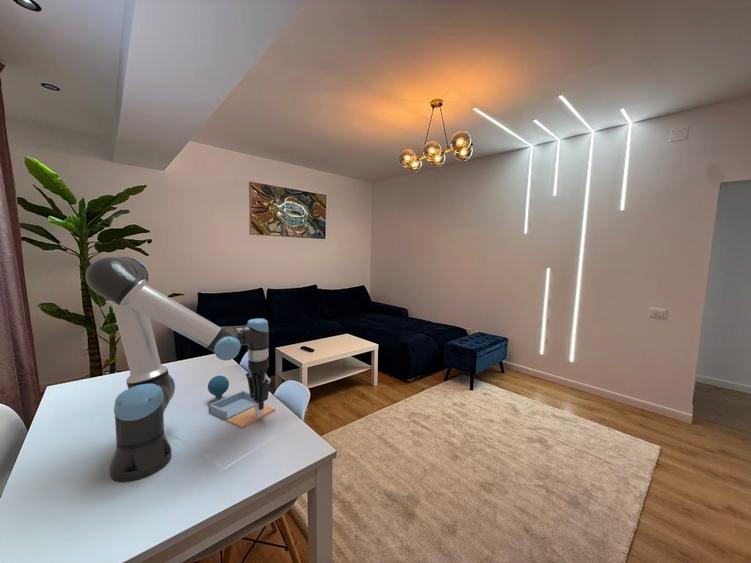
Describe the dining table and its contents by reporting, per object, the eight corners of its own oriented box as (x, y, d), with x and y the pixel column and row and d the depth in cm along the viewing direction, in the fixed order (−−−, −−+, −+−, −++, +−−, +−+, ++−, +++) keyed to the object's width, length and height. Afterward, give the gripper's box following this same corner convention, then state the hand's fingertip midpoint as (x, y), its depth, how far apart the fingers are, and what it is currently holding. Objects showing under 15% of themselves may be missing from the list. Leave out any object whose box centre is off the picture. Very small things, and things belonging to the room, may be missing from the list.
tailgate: (225, 422, 118) (241, 429, 113) (225, 419, 118) (241, 426, 113) (259, 405, 132) (275, 411, 126) (259, 403, 132) (275, 408, 126)
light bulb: (223, 407, 130) (222, 380, 129) (204, 406, 130) (203, 379, 129) (232, 398, 138) (232, 372, 137) (214, 397, 138) (214, 372, 137)
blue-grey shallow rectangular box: (224, 421, 118) (224, 412, 118) (208, 413, 124) (208, 404, 124) (259, 405, 132) (259, 396, 132) (243, 398, 138) (243, 390, 137)
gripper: (277, 359, 118) (277, 416, 120) (255, 353, 124) (256, 407, 126) (261, 364, 111) (262, 425, 113) (239, 358, 118) (240, 415, 120)
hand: (259, 416), depth 120 cm, fingers closed
